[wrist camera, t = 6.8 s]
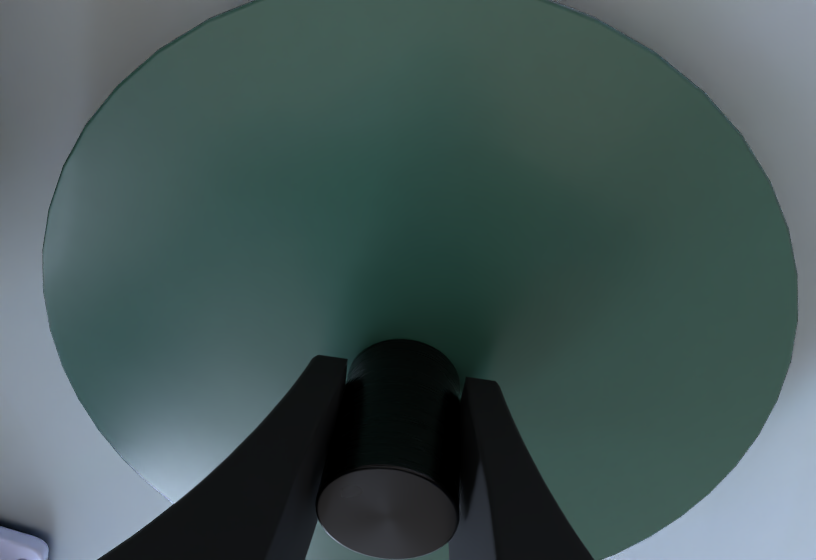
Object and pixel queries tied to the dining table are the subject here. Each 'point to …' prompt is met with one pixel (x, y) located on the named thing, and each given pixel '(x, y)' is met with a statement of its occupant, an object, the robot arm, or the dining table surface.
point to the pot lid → (424, 261)
